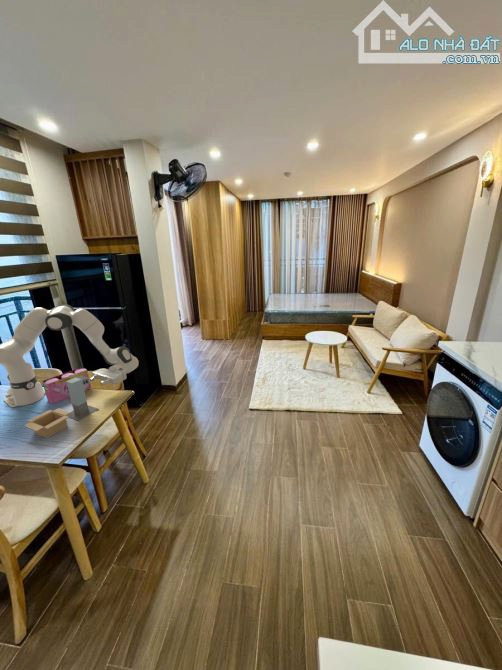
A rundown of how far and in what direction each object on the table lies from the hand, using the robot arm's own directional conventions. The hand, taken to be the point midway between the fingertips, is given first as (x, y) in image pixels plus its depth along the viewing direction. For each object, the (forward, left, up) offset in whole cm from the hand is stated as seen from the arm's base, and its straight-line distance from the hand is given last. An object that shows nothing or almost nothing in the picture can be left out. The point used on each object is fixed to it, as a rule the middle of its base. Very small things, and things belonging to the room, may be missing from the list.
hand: (95, 381), depth 151 cm
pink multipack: (-27, -1, -14) cm, 30 cm away
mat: (0, -12, -14) cm, 18 cm away
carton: (0, -28, -14) cm, 31 cm away
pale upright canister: (0, -12, -13) cm, 18 cm away
